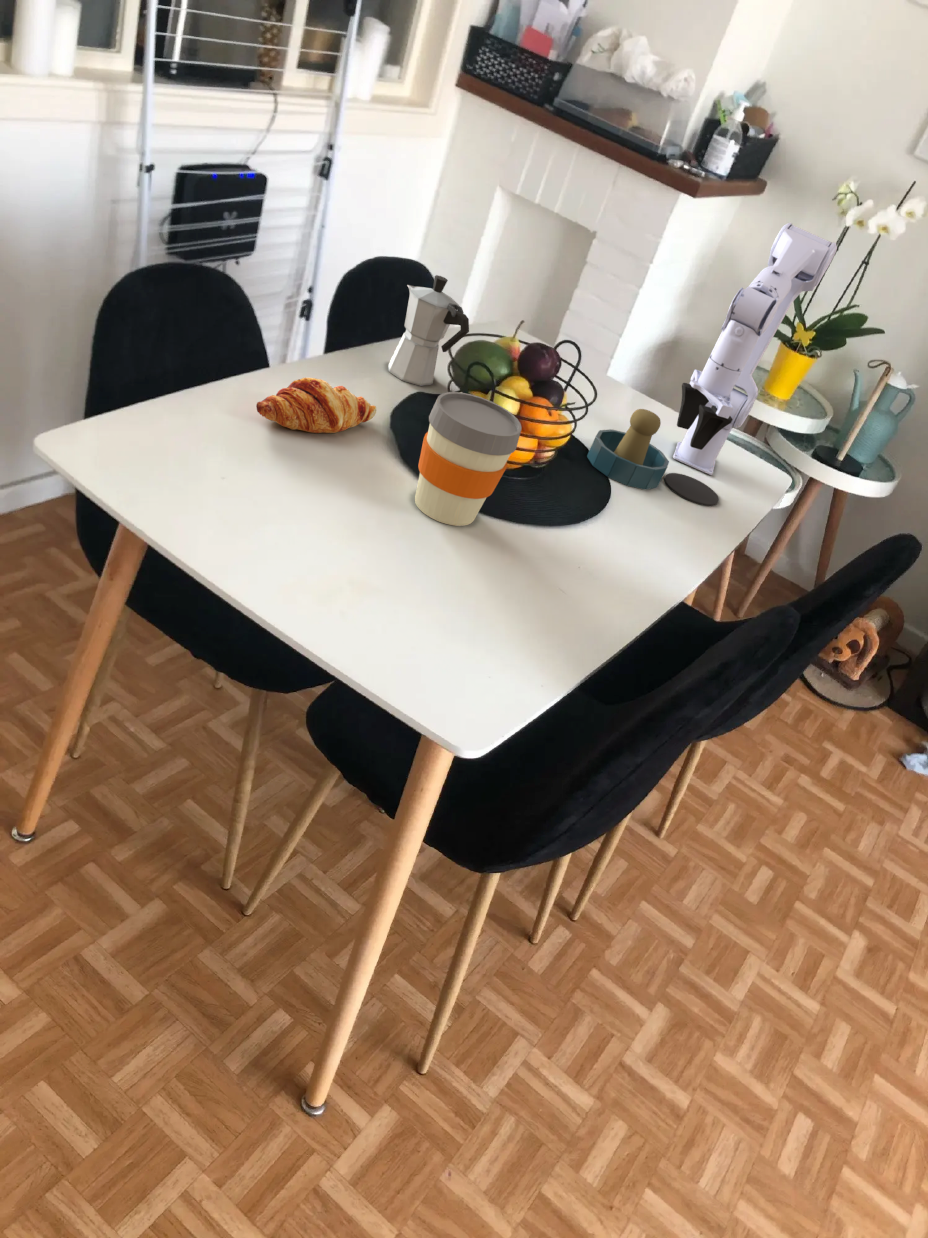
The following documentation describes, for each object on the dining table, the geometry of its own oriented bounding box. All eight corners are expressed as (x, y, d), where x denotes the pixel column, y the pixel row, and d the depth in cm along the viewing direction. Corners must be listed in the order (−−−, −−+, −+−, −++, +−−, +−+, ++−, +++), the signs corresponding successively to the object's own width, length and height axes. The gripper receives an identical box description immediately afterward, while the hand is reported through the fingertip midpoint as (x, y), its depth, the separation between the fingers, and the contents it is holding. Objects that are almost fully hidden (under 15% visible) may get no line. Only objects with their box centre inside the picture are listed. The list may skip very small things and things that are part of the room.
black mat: (667, 468, 184) (668, 466, 184) (719, 492, 184) (720, 490, 183) (660, 488, 176) (661, 486, 175) (715, 512, 175) (716, 510, 175)
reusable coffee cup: (435, 477, 149) (468, 385, 141) (502, 520, 145) (539, 428, 137) (384, 495, 140) (416, 397, 132) (455, 541, 135) (492, 443, 128)
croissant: (355, 430, 161) (354, 379, 160) (396, 432, 154) (396, 379, 153) (240, 432, 147) (238, 376, 145) (280, 434, 140) (278, 375, 138)
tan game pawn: (638, 481, 175) (665, 425, 169) (606, 468, 175) (632, 411, 169) (639, 468, 180) (666, 413, 174) (608, 456, 180) (633, 400, 174)
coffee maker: (369, 359, 179) (398, 260, 170) (401, 356, 186) (430, 261, 176) (429, 399, 173) (462, 299, 164) (460, 394, 180) (494, 298, 170)
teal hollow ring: (595, 441, 183) (603, 422, 181) (662, 471, 182) (672, 452, 180) (581, 465, 172) (590, 444, 170) (653, 497, 171) (663, 477, 169)
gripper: (690, 340, 168) (656, 412, 175) (719, 374, 156) (680, 451, 163) (727, 351, 170) (691, 423, 177) (758, 386, 158) (718, 461, 165)
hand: (689, 437), depth 170 cm, fingers open, 7 cm apart
